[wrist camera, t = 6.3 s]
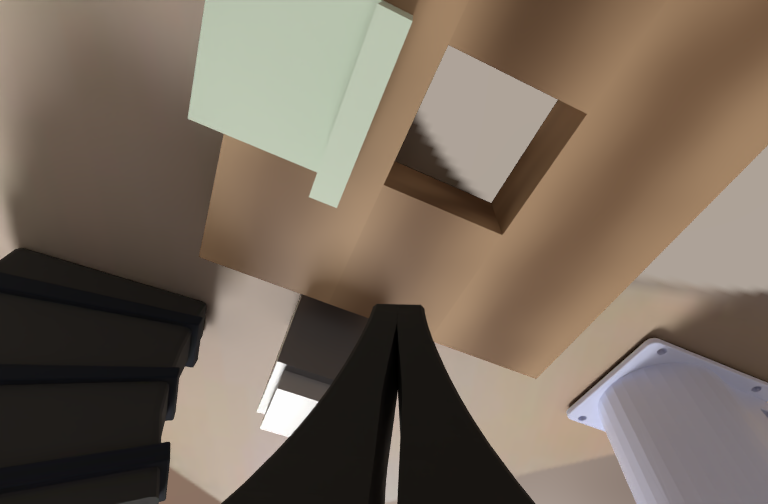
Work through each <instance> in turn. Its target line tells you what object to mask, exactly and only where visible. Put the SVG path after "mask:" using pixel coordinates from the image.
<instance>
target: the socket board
mask: <svg viewBox="0 0 768 504" xmlns="http://www.w3.org/2000/svg"><path fill="white" fill-rule="evenodd" d="M383 1H385V2H387V3H389V4H391V5H393V6H395V7H397V8H399V9H401V10H403V11H405V12H407V13H409V14H411V15H413V21H412V24H411V26H410V29H409V31H408V34H407V36H406V39H405V41H404V44H403V46H402V49H401V51H400V53H399V56H398V58H397V61H396V63H395V66H394V68H393V71H392V73H391V76H390V78H389V81H388V83H387V86H386V88H385V90H384V93H383V95H382V98H381V100H380V103H379V105H378V108H377V110H376V113H375V115H374V118H373V120H372V123H371V125H370V127H369V130H368V132H367V135H366V137H365V140H364V142H363V145H362V147H361V150H360V152H359V155H358V157H357V159H356V162H355V164H354V167H353V169H352V172H351V174H350V177H349V179H348V182H347V184H346V187H345V189H344V192H343V194H342V196H341V199H340V201H339V204H338V206H337V208H335V207H332V206H330V205H328V204H325V203H323V202H320V201H318V200H315V199H313V198H310V197H309V195H310V192H311V189H312V186H313V183H314V181H315V178H316V175H317V172H315V171H312V170H310V169H307V168H305V167H303V166H300V165H298V164H295V163H293V162H291V161H288V160H286V159H283V158H281V157H279V156H276V155H274V154H271V153H269V152H267V151H264V150H262V149H259V148H257V147H254V146H252V145H250V144H247V143H245V142H242V141H240V140H238V139H235V138H233V137H230V136H228V135H226V134H224V135H223V140H222V145H221V150H220V155H219V160H218V165H217V170H216V175H215V179H214V184H213V189H212V194H211V199H210V204H209V209H208V214H207V219H206V224H205V229H204V234H203V239H202V244H201V249H200V254H199V257H200V258H203V259H206V260H209V261H211V262H214V263H217V264H220V265H223V266H225V267H228V268H231V269H234V270H236V271H239V272H242V273H245V274H247V275H250V276H253V277H256V278H258V279H261V280H264V281H267V282H270V283H272V284H275V285H278V286H281V287H283V288H286V289H289V290H292V291H294V292H297V293H300V294H303V295H306V296H308V297H311V298H314V299H317V300H319V301H322V302H325V303H328V304H330V305H333V306H336V307H339V308H342V309H344V310H347V311H350V312H353V313H355V314H358V315H361V316H364V317H366V318H369V317H370V314H371V311H372V308H373V306H375V305H376V304H410V305H421V306H423V307H424V309H425V315H426V320H427V323H428V327H429V330H430V333H431V335H432V338H433V341H434V342H436V343H438V344H441V345H444V346H447V347H449V348H452V349H455V350H458V351H460V352H463V353H466V354H469V355H472V356H474V357H477V358H480V359H483V360H485V361H488V362H491V363H494V364H496V365H499V366H502V367H505V368H508V369H510V370H513V371H516V372H519V373H521V374H524V375H527V376H530V377H532V378H535V379H536V378H537V377H538V376H539V375H540V374H541V373H542V372H543V371H544V370H545V369H546V368H547V367H548V366H549V365H550V364H551V363H552V362H553V361H554V360H555V359H556V358H557V357H558V356H559V355H560V354H561V353H562V352H563V351H564V350H565V349H566V348H567V347H568V346H569V345H570V344H571V343H572V342H573V341H574V340H575V339H576V338H577V337H578V336H579V335H580V334H581V333H582V332H583V331H584V330H585V329H586V328H587V327H588V326H589V325H590V324H591V323H592V322H593V321H594V320H595V319H596V318H597V317H598V316H599V315H600V314H601V313H602V312H603V311H604V310H605V309H606V308H607V307H608V306H609V305H610V304H611V303H612V302H613V301H614V300H615V299H616V298H617V297H618V296H619V295H620V294H621V293H622V292H623V291H624V290H625V289H626V288H627V287H628V286H629V285H630V284H631V283H632V282H633V281H634V280H635V279H636V278H637V277H638V276H639V275H640V274H641V273H642V272H643V270H644V269H645V268H646V267H647V266H648V265H649V264H650V263H651V262H652V261H653V260H654V259H655V258H656V257H657V256H658V255H659V254H660V253H661V252H662V251H663V250H664V249H665V248H666V247H667V246H668V245H669V244H670V243H671V242H672V241H673V240H674V239H675V238H676V237H677V236H678V235H679V234H680V233H681V232H682V231H683V230H684V229H685V228H686V227H687V226H688V225H689V224H690V223H691V222H692V221H693V220H694V219H695V218H696V217H697V216H698V215H699V214H700V213H701V212H702V211H703V210H704V209H705V208H706V207H707V206H708V205H709V204H710V203H711V202H712V201H713V200H714V199H715V198H716V197H717V196H718V195H719V194H720V193H721V192H722V191H723V190H724V189H725V188H726V187H727V186H728V185H729V183H731V182H732V181H733V180H734V179H735V178H736V177H737V176H738V174H740V173H741V172H742V171H743V170H744V168H746V167H747V166H748V165H749V164H750V163H751V161H752V160H753V159H754V158H755V157H756V156H757V155H758V154H759V153H760V152H761V151H762V150H763V149H764V148H765V147H766V146H767V145H768V0H383ZM448 45H450V46H452V47H454V48H456V49H458V50H460V51H462V52H464V53H466V54H468V55H470V56H472V57H474V58H476V59H478V60H480V61H482V62H484V63H486V64H488V65H490V66H492V67H494V68H496V69H498V70H500V71H502V72H504V73H506V74H508V75H510V76H512V77H514V78H516V79H518V80H520V81H522V82H524V83H526V84H528V85H530V86H532V87H534V88H536V89H538V90H540V91H542V92H544V93H546V94H548V95H550V96H552V97H554V98H556V99H558V101H557V102H556V104H555V105H554V107H553V108H552V110H551V112H550V113H549V115H548V116H547V118H546V120H545V121H544V122H543V124H542V126H541V127H540V129H539V130H538V132H537V133H536V135H535V137H534V138H533V140H532V141H531V143H530V144H529V146H528V147H527V149H526V150H525V152H524V153H523V155H522V156H521V158H520V159H519V161H518V163H517V164H516V166H515V167H514V169H513V170H512V172H511V173H510V175H509V177H508V178H507V180H506V181H505V183H504V184H503V186H502V187H501V189H500V190H499V192H498V194H497V195H496V197H495V198H494V200H493V201H492V203H490V202H487V201H485V200H483V199H480V198H478V197H476V196H474V195H471V194H469V193H467V192H464V191H462V190H460V189H457V188H455V187H453V186H451V185H448V184H446V183H444V182H441V181H439V180H437V179H434V178H432V177H430V176H428V175H425V174H423V173H421V172H418V171H416V170H414V169H411V168H409V167H407V166H405V165H402V164H400V163H398V162H395V159H396V157H397V155H398V152H399V150H400V148H401V146H402V144H403V142H404V139H405V137H406V135H407V133H408V131H409V129H410V126H411V124H412V122H413V120H414V118H415V116H416V114H417V111H418V109H419V107H420V105H421V103H422V101H423V98H424V96H425V94H426V92H427V90H428V88H429V85H430V83H431V81H432V79H433V77H434V74H435V72H436V70H437V68H438V66H439V64H440V62H441V59H442V57H443V55H444V53H445V51H446V49H447V46H448Z"/></svg>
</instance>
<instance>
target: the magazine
mask: <svg viewBox="0 0 768 504" xmlns="http://www.w3.org/2000/svg"><path fill="white" fill-rule="evenodd" d="M205 314H206V304H205V303H203V302H201V301H198V300H194V299H191V298H188V297H184V296H181V295H178V294H174V293H171V292H167V291H164V290H161V289H157V288H154V287H151V286H147V285H144V284H141V283H137V282H134V281H131V280H127V279H124V278H121V277H117V276H114V275H110V274H107V273H104V272H100V271H97V270H94V269H90V268H87V267H84V266H80V265H77V264H74V263H70V262H67V261H64V260H60V259H57V258H53V257H50V256H47V255H43V254H40V253H37V252H33V251H30V250H27V249H23V248H18V249H15V250H14V251H12V252H11V253H10V254H8V255H7V256H5V257H4V258H2V259H1V260H0V504H158V502H161V501H164V500H165V499H166V492H167V482H168V473H169V464H170V442H164V443H161V435H162V431H163V427H164V423H165V421H167V420H173V419H174V415H175V411H176V402H177V393H178V384H179V377H180V375H181V373H182V371H183V369H184V367H185V366H186V367H194V365H195V363H196V362H197V360H198V353H199V346H200V339H201V337H202V334H203V327H204V321H205Z"/></svg>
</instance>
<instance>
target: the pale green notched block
mask: <svg viewBox="0 0 768 504" xmlns="http://www.w3.org/2000/svg"><path fill="white" fill-rule="evenodd" d="M412 21H413V15H411V14H409V13H407V12H405V11H403V10H401V9H399V8H397V7H395V6H393V5H391V4H389V3H387V2H385V1H383V0H205V4H204V11H203V18H202V25H201V31H200V38H199V45H198V52H197V59H196V65H195V72H194V79H193V86H192V92H191V99H190V106H189V113H188V119H190V120H192V121H194V122H197V123H199V124H202V125H204V126H206V127H209V128H211V129H214V130H216V131H218V132H221V133H223V134H226V135H228V136H230V137H233V138H235V139H238V140H240V141H242V142H245V143H247V144H250V145H252V146H254V147H257V148H259V149H262V150H264V151H267V152H269V153H271V154H274V155H276V156H279V157H281V158H283V159H286V160H288V161H291V162H293V163H295V164H298V165H300V166H303V167H305V168H307V169H310V170H312V171H315V172H317V175H316V178H315V181H314V183H313V186H312V189H311V192H310V195H309V197H310V198H313V199H315V200H318V201H320V202H323V203H325V204H328V205H330V206H332V207H335V208H337V206H338V204H339V201H340V199H341V196H342V194H343V192H344V189H345V187H346V184H347V182H348V179H349V177H350V174H351V172H352V169H353V167H354V164H355V162H356V159H357V157H358V155H359V152H360V150H361V147H362V145H363V142H364V140H365V137H366V135H367V132H368V130H369V127H370V125H371V123H372V120H373V118H374V115H375V113H376V110H377V108H378V105H379V103H380V100H381V98H382V95H383V93H384V90H385V88H386V86H387V83H388V81H389V78H390V76H391V73H392V71H393V68H394V66H395V63H396V61H397V58H398V56H399V53H400V51H401V49H402V46H403V44H404V41H405V39H406V36H407V34H408V31H409V29H410V26H411V24H412Z"/></svg>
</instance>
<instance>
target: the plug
mask: <svg viewBox="0 0 768 504" xmlns="http://www.w3.org/2000/svg"><path fill="white" fill-rule="evenodd" d="M368 319H369V318H366V317H364V316H361V315H358V314H355V313H353V312H350V311H347V310H344V309H342V308H339V307H336V306H333V305H330V304H328V303H325V302H322V301H319V300H317V299H314V298H311V297H308V296H306V295H303V294H301V297H300V299H299V302H298V304H297V307H296V309H295V312H294V314H293V317H292V319H291V322H290V324H289V327H288V329H287V332H286V335H285V337H284V340H283V343H282V345H281V348H280V351H279V353H278V356H277V359H276V361H275V364H274V367H273V369H272V372H271V375H270V377H269V380H268V383H267V385H266V388H265V391H264V393H263V396H262V399H261V401H260V404H259V407H258V409H257V412H259V413H262V414H265V415H264V418H263V421H262V424H261V427H260V429H263V430H266V431H270V432H273V433H277V434H280V435H283V436H287V437H290V436H291V434H292V433H293V432H294V431H295V430H296V429H297V427H298V426H299V425H300V424H301V423H302V422H303V420H304V419H305V418H306V417H307V416H308V414H309V413H310V412H311V411H312V409H313V408H314V407H315V406H316V404H317V403H318V402H319V400H320V399H321V398H322V396H323V395H324V394H325V392H326V391H327V389H328V388H329V387H330V385H331V384H332V382H333V381H334V379H335V378H336V376H337V375H338V373H339V372H340V370H341V368H342V367H343V365H344V364H345V362H346V361H347V359H348V357H349V356H350V354H351V352H352V350H353V349H354V347H355V345H356V343H357V341H358V340H359V338H360V336H361V334H362V332H363V330H364V328H365V326H366V324H367V321H368Z"/></svg>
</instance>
